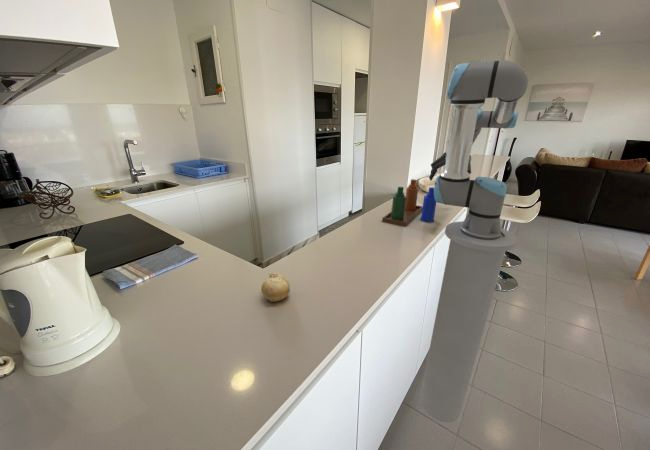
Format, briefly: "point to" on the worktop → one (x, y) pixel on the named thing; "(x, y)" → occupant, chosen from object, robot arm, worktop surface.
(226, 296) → the worktop surface
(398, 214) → the green bottle
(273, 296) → the onion
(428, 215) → the blue bottle
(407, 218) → the tray
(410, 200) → the amber bottle
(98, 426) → the worktop surface
